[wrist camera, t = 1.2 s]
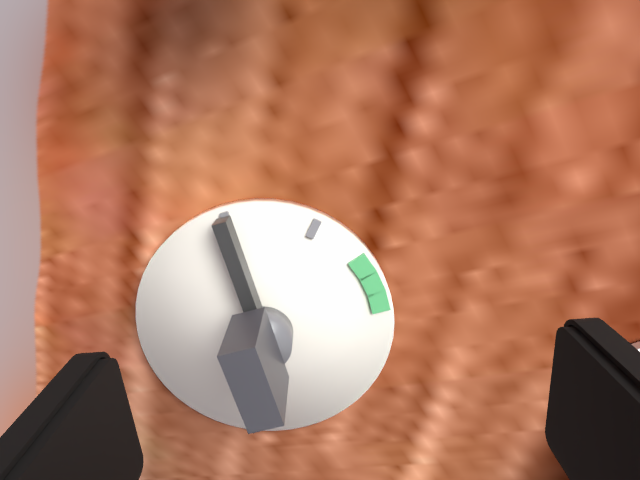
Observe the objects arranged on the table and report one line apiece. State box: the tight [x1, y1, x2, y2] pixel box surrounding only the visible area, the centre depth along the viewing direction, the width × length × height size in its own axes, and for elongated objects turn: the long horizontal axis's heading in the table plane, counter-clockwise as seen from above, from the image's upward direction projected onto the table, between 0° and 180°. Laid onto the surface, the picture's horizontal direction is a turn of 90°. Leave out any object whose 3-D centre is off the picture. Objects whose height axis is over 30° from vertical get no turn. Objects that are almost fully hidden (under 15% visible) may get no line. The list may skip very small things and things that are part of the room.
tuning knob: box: [211, 215, 293, 434], centre depth 30 cm, size 12×4×7 cm, turn 15°
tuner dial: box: [136, 198, 394, 431], centre depth 35 cm, size 20×20×2 cm
